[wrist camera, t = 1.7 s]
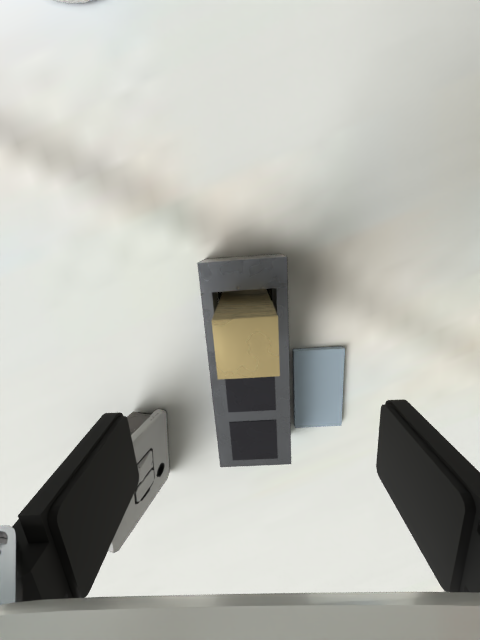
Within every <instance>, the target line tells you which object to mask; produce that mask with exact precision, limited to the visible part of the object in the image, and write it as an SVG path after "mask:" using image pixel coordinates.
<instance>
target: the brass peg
mask: <svg viewBox="0 0 480 640" xmlns="http://www.w3.org/2000/svg"><path fill="white" fill-rule="evenodd" d="M212 329H213V339H214V349H215V358H216V368H217V378H218V379H237V378H255V377H273V376H280V364H279V331H278V315H277V313H276V310H275V308H274V306H273V303H272V301H271V299H270V296H269V294H268V292H267V289H255V290H240V291H224V292H223V293H222V295H221V298H220V300H219V303H218V305H217V308H216V310H215V313H214V315H213V318H212Z"/></svg>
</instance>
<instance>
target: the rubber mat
mask: <svg viewBox="0 0 480 640" xmlns="http://www.w3.org/2000/svg"><path fill="white" fill-rule="evenodd" d="M344 357H345V348H344V347H343V346H338V347H321V348H303V349H293V387H294V426H295V428H299V427H320V426H341V424H342V402H343V379H344Z"/></svg>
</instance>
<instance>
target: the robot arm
mask: <svg viewBox="0 0 480 640" xmlns="http://www.w3.org/2000/svg"><path fill="white" fill-rule="evenodd" d="M55 1H60V2H65V3H85V2H88V1H91V0H55ZM376 467H377V473H378V476H379V478H380V479H381V481H382V483H383V485H384V487H385V488H386V490H387V492H388V494H389V495H390V497H391V499H392V501H393V502H394V504H395V506H396V508H397V509H398V511H399V513H400V515H401V517H402V518H403V520H404V522H405V524H406V525H407V527H408V529H409V531H410V532H411V534H412V536H413V538H414V539H415V541H416V543H417V545H418V547H419V548H420V550H421V552H422V554H423V555H424V557H425V559H426V561H427V562H428V564H429V566H430V568H431V569H432V571H433V573H434V575H435V577H436V578H437V580H438V582H439V584H440V585H441V587H442V588H443V589H444V590H445V591H446V592H353V593H275V594H216V595H168V596H125V597H92V598H85V597H86V596H87V595H88V593H89V591H90V589H91V587H92V585H93V583H94V581H95V578H96V576H97V574H98V572H99V569H100V567H101V565H102V563H103V561H104V558H105V556H106V554H107V552H108V550H109V547H110V545H111V543H112V541H113V539H114V536H115V534H116V532H117V530H118V528H119V525H120V523H121V521H122V519H123V517H124V514H125V512H126V510H127V508H128V506H129V503H130V501H131V499H132V497H133V494H134V492H135V490H136V488H137V485H138V482H139V471H138V467H137V462H136V457H135V452H134V447H133V442H132V438H131V433H130V428H129V423H128V419H127V417H125V416H123V414H122V413H105V414H104V415H102V417H101V418H100V419H99V420H98V421H97V422H96V424H95V425H94V426H93V427H92V428H91V430H90V431H89V432H88V433H87V434H86V436H85V437H84V438H83V439H82V440H81V441H80V443H79V444H78V445H77V446H76V447H75V449H74V450H73V451H72V452H71V453H70V454H69V456H68V457H67V458H66V459H65V460H64V462H63V463H62V464H61V465H60V466H59V468H58V469H57V470H56V471H55V472H54V473H53V475H52V476H51V477H50V478H49V479H48V481H47V482H46V483H45V484H44V485H43V486H42V488H41V489H40V490H39V491H38V492H37V494H36V495H35V496H34V497H33V498H32V500H31V501H30V502H29V503H28V504H27V505H26V507H25V508H24V509H23V510H22V511H21V513H20V514H19V515H18V517H19V519H18V521H17V522H16V523H15V524H14V525H13V527H11V526H9V525H0V640H480V472H479V471H478V470H477V469H476V468H475V467H474V466H473V465H472V464H471V463H470V462H469V461H468V460H466V459H465V458H464V457H463V456H462V455H461V454H460V453H459V452H458V451H457V450H456V449H455V448H454V447H453V446H452V445H451V444H450V443H449V442H448V441H447V440H446V439H445V438H444V437H443V436H442V435H441V434H440V433H439V432H438V431H437V430H436V429H435V428H434V427H433V426H432V425H431V424H430V423H429V422H428V421H427V420H426V419H425V418H424V417H423V416H422V415H421V414H420V413H419V412H418V411H417V410H416V409H415V408H414V407H413V406H412V405H411V404H409V403H408V402H407V401H406V400H388V401H386V404H385V405H382V406H381V414H380V426H379V439H378V451H377V464H376Z"/></svg>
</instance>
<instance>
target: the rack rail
mask: <svg viewBox="0 0 480 640" xmlns="http://www.w3.org/2000/svg"><path fill="white" fill-rule="evenodd" d="M198 272H199V281H200V290H201V299H202V308H203V317H204V325H205V334H206V343H207V352H208V361H209V370H210V379H211V388H212V397H213V405H214V414H215V423H216V432H217V441H218V450H219V459H220V467H234V466H257V465H281V464H291V433H290V381H289V328H288V276H287V256H285V255H282V254H270V255H256V256H241V257H227V258H213V259H204V260H202V261H200V262H198ZM270 288H272V303H273V306H274V308H275V310H276V313H277V315H278V331H279V364H280V376H273V377H255V378H237V379H218V378H217V368H216V358H215V349H214V339H213V329H212V318H213V315H214V313H215V310H216V308H217V305H218V292H224V291H240V290H255V289H270Z"/></svg>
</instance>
